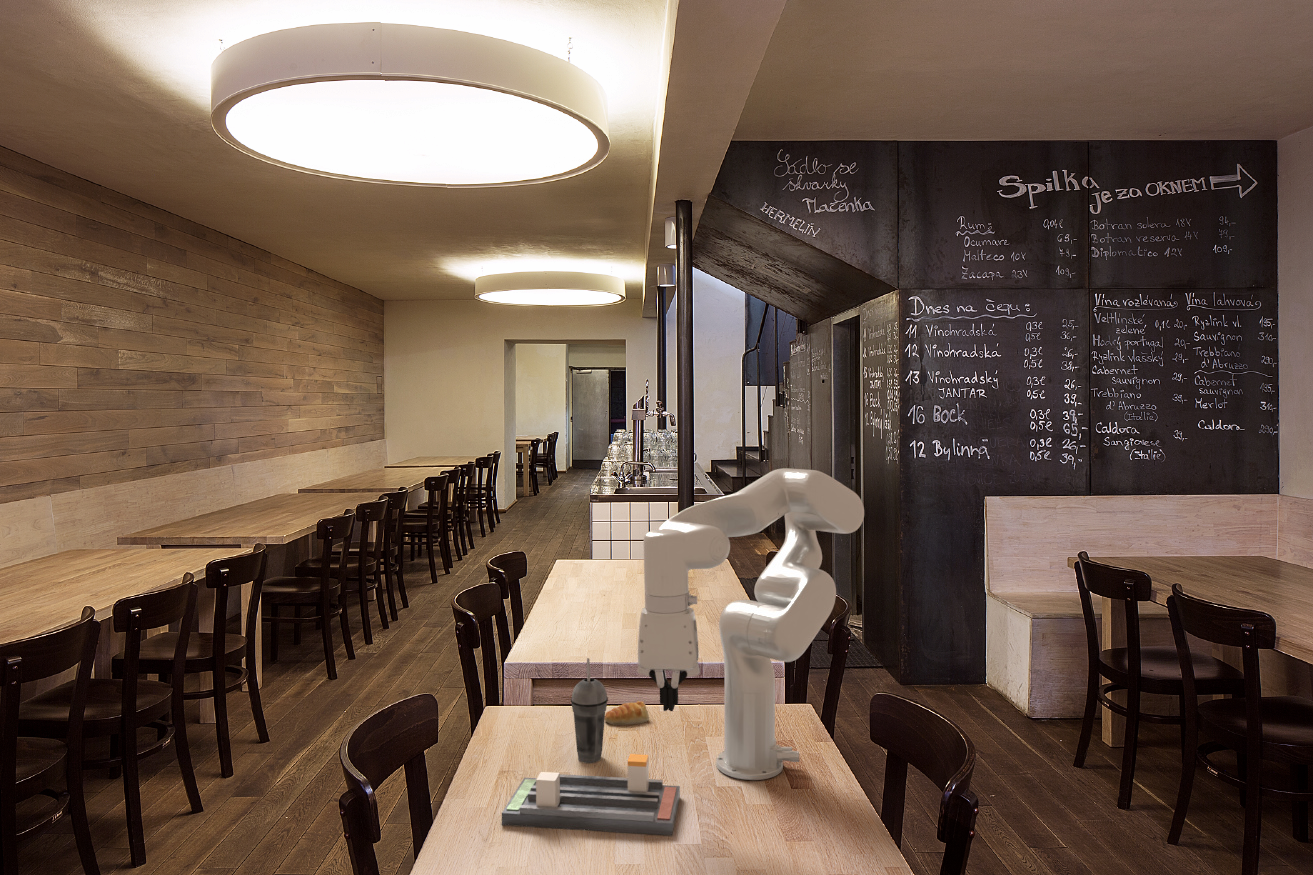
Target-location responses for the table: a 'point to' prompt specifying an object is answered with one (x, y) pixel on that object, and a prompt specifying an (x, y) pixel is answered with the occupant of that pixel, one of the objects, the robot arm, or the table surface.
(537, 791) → the block
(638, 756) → the block
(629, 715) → the pastry
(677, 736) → the table surface
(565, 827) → the gray rail tray
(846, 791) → the table surface
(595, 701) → the beverage cup
